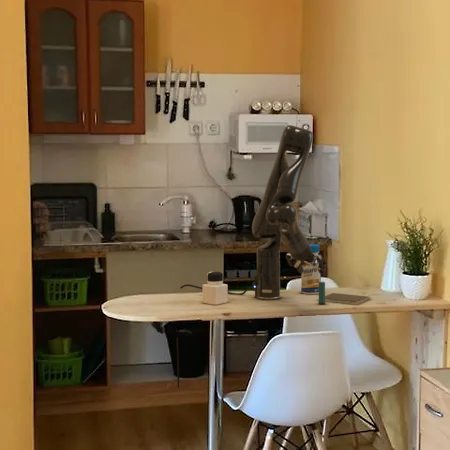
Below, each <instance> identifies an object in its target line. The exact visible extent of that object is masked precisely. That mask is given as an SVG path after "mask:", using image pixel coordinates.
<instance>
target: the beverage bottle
mask: <svg viewBox="0 0 450 450" xmlns="http://www.w3.org/2000/svg"><path fill="white" fill-rule="evenodd" d="M309 245H310V247H311V250H312V253H313V254H314V255H318V254H320V245H319V244H316V243H309ZM312 263H314V260H313V262H312ZM301 265H302V267H303V272H302V273H300V275H301V276H300V277H301V281H300V282H301V285H300V286H301V288H300V292H301V294H304V295H319V282H322V275H320V273H319V271H318V269H317V268H315V267H312V266H310V265H307V264H301ZM316 265H319V264H316Z"/></svg>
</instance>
